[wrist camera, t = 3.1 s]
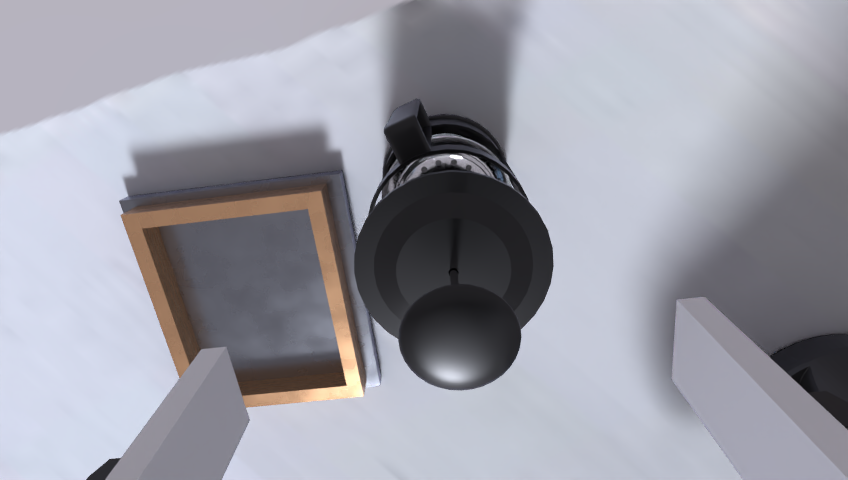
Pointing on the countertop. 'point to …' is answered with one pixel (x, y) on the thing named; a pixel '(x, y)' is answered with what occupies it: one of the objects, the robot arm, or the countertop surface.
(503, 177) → the french press
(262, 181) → the rectangular wooden frame
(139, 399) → the countertop surface
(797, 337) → the countertop surface
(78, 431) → the countertop surface
